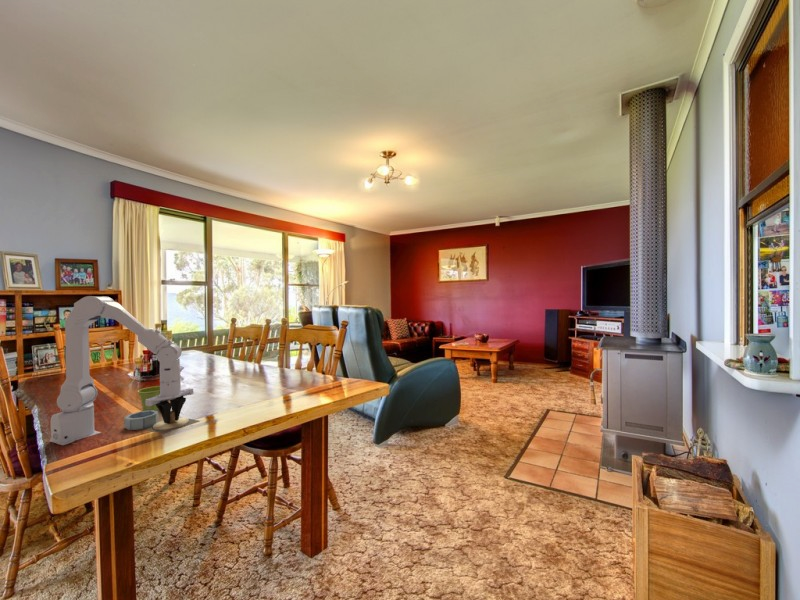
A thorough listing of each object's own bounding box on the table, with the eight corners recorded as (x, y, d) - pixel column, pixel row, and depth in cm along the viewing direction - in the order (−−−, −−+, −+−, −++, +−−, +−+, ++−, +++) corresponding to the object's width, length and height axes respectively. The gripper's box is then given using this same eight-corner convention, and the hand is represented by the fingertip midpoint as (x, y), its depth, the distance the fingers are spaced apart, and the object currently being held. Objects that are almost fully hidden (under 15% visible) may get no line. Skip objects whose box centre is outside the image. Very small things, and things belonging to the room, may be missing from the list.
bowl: (135, 433, 110) (135, 420, 110) (119, 429, 114) (119, 417, 114) (163, 424, 118) (163, 412, 118) (148, 420, 122) (147, 409, 122)
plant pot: (132, 413, 129) (132, 390, 129) (159, 406, 138) (159, 384, 138) (146, 417, 125) (145, 393, 125) (173, 409, 133) (173, 387, 133)
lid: (165, 432, 109) (165, 418, 109) (146, 427, 113) (145, 414, 113) (195, 421, 118) (195, 409, 118) (176, 417, 122) (176, 405, 122)
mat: (163, 435, 108) (163, 433, 108) (140, 430, 113) (140, 428, 113) (200, 422, 119) (200, 420, 119) (177, 418, 124) (177, 416, 124)
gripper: (154, 387, 107) (155, 430, 108) (198, 376, 121) (199, 416, 121) (140, 385, 110) (142, 427, 110) (185, 375, 124) (186, 413, 124)
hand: (171, 421), depth 116 cm, fingers closed on lid, 2 cm apart
